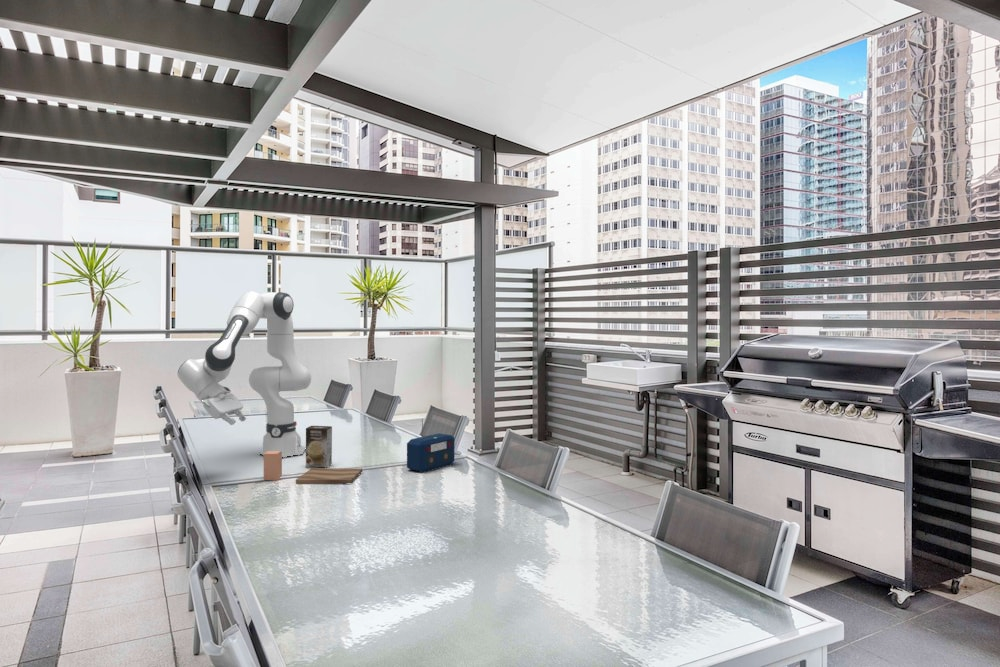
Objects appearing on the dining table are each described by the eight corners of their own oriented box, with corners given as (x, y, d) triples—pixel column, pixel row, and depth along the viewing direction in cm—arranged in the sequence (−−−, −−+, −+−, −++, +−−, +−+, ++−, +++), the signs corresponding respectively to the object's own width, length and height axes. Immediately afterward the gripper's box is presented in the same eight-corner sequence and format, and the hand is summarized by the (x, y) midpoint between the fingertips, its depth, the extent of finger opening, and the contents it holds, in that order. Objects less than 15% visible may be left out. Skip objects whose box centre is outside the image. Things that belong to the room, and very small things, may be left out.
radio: (421, 473, 247) (421, 422, 247) (405, 470, 253) (405, 420, 252) (457, 464, 264) (457, 415, 264) (441, 461, 269) (441, 413, 269)
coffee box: (304, 467, 257) (304, 427, 257) (311, 464, 264) (310, 425, 263) (326, 468, 256) (326, 428, 256) (332, 464, 263) (332, 425, 262)
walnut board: (311, 472, 250) (311, 468, 250) (362, 472, 250) (362, 468, 250) (295, 483, 232) (295, 479, 232) (350, 484, 232) (350, 479, 232)
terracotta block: (268, 477, 242) (268, 450, 241) (281, 477, 242) (281, 451, 241) (263, 480, 237) (263, 453, 236) (277, 480, 237) (276, 453, 236)
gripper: (205, 392, 228) (233, 419, 228) (230, 387, 249) (255, 412, 249) (193, 404, 228) (220, 432, 228) (219, 399, 249) (244, 424, 249)
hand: (239, 421), depth 239 cm, fingers open, 8 cm apart
